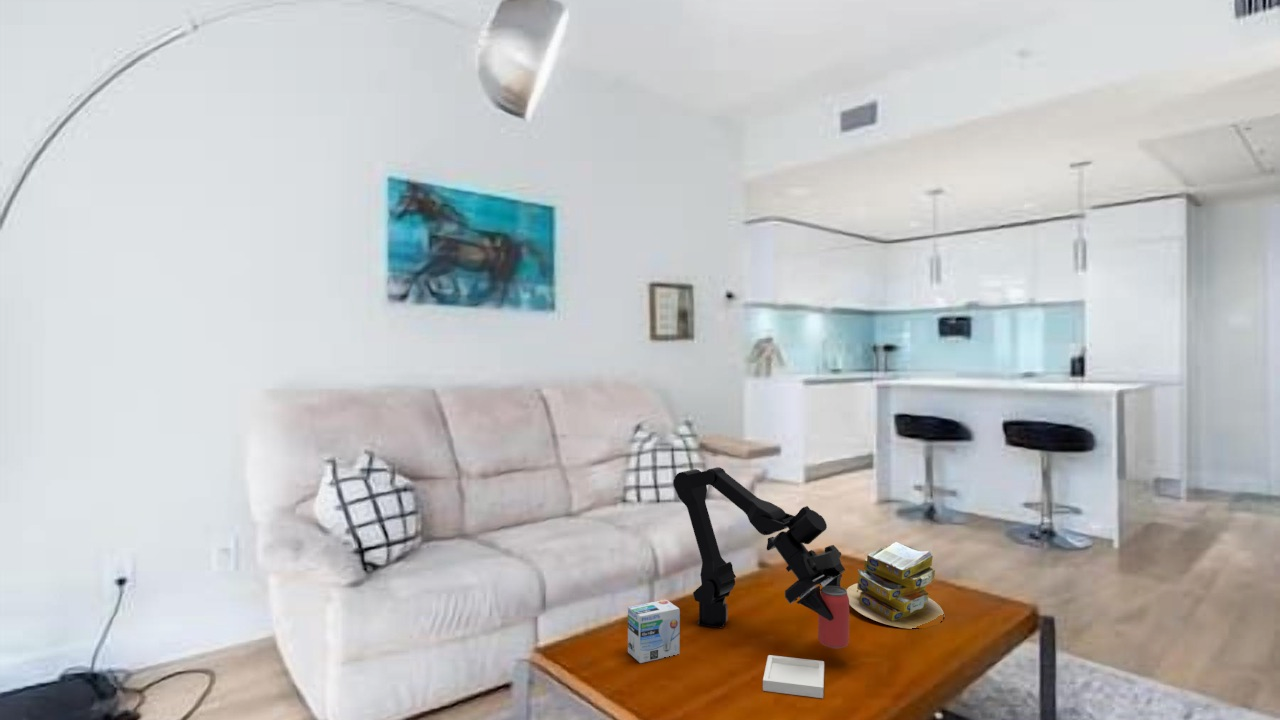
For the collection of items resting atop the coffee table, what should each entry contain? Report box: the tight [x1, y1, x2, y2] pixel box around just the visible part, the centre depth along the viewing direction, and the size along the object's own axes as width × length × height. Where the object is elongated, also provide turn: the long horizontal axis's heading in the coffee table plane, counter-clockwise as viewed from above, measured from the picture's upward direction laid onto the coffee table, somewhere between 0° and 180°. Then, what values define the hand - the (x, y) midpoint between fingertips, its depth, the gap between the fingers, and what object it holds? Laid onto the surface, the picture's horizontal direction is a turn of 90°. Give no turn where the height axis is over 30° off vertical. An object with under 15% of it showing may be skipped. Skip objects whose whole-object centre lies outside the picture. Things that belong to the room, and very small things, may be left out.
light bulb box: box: [627, 599, 681, 664], centre depth 161 cm, size 11×7×11 cm, turn 117°
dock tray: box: [762, 654, 825, 699], centre depth 148 cm, size 12×12×2 cm
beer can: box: [817, 586, 850, 649], centre depth 156 cm, size 7×7×12 cm
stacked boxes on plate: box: [846, 541, 945, 630], centre depth 186 cm, size 25×25×17 cm
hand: (839, 615), depth 155 cm, fingers closed on beer can, 7 cm apart
